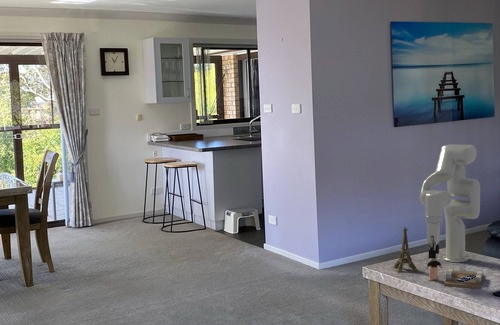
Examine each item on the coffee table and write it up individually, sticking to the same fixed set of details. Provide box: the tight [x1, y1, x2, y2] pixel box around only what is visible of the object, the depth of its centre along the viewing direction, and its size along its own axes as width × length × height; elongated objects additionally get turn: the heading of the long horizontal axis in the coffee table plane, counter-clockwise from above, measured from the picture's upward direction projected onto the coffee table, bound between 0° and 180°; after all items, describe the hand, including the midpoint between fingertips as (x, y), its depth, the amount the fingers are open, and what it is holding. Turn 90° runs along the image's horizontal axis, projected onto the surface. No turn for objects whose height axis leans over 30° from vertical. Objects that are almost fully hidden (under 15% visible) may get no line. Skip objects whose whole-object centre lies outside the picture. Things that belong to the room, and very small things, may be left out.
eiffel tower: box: [391, 227, 420, 273], centre depth 316 cm, size 11×11×25 cm
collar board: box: [443, 267, 484, 290], centre depth 295 cm, size 22×15×4 cm
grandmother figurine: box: [425, 254, 443, 282], centre depth 297 cm, size 8×4×13 cm, turn 105°
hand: (433, 255), depth 296 cm, fingers open, 9 cm apart
